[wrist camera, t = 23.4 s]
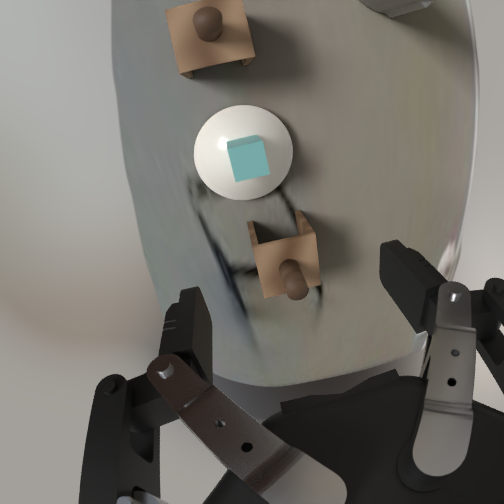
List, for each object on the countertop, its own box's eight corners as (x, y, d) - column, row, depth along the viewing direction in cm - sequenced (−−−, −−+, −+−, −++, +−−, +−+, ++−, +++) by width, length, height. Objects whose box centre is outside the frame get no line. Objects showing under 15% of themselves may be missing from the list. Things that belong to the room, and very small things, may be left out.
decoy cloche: (300, 210, 44) (328, 254, 32) (306, 255, 48) (332, 308, 36) (247, 222, 44) (257, 271, 32) (257, 267, 48) (269, 323, 36)
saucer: (309, 141, 39) (311, 142, 38) (254, 213, 43) (255, 217, 42) (230, 86, 34) (231, 86, 33) (176, 166, 39) (175, 168, 38)
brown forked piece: (236, 12, 29) (243, -24, 17) (248, 64, 33) (262, 48, 21) (175, 26, 29) (155, -5, 18) (187, 78, 33) (171, 68, 22)
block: (256, 134, 37) (262, 140, 31) (262, 163, 38) (270, 174, 33) (226, 141, 37) (227, 149, 31) (233, 170, 39) (235, 182, 33)
